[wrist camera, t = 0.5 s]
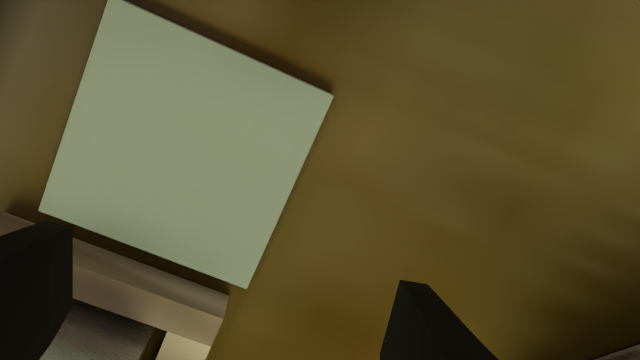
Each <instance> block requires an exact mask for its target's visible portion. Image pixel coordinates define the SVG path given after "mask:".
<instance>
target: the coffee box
mask: <svg viewBox="0 0 640 360" xmlns="http://www.w3.org/2000/svg"><path fill="white" fill-rule="evenodd" d="M594 360H640V344H639V345H636V346H633V347H630V348H627V349H624V350H621V351H618V352H615V353H612V354H609V355H606V356H603V357H600V358H597V359H594Z"/></svg>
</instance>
